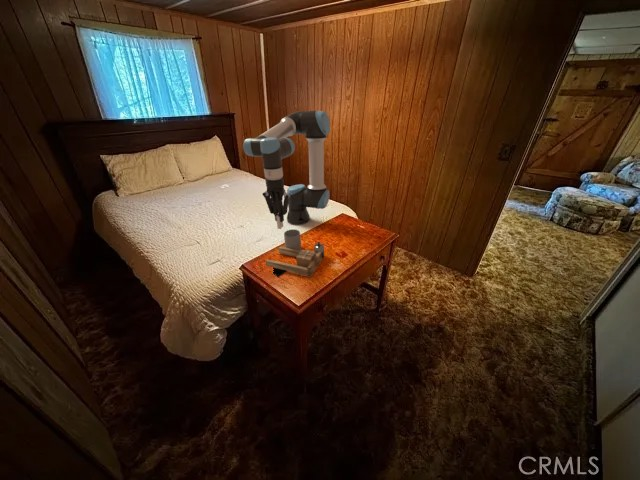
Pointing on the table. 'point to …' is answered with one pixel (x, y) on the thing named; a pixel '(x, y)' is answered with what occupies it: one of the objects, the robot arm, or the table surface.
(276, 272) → the smartphone
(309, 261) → the crate
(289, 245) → the cup
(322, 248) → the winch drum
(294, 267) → the bay
